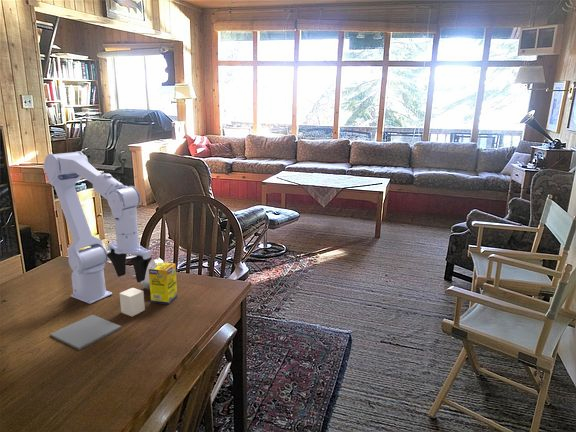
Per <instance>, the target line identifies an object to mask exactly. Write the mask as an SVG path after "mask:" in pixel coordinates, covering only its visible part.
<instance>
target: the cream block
mask: <svg viewBox="0 0 576 432" xmlns="http://www.w3.org/2000/svg"><path fill="white" fill-rule="evenodd" d="M144 297H145V294H144V290H141V289H138V288H135V287H131V288H128V289H126V290H124V291H121V292H119V301H120V303H119V304H120V312H121V313H122V314H123V315H127V316H130V317H134V316H136V315H139V314H140V313H141V312H143V311H146V306H145V298H144Z"/></svg>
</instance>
